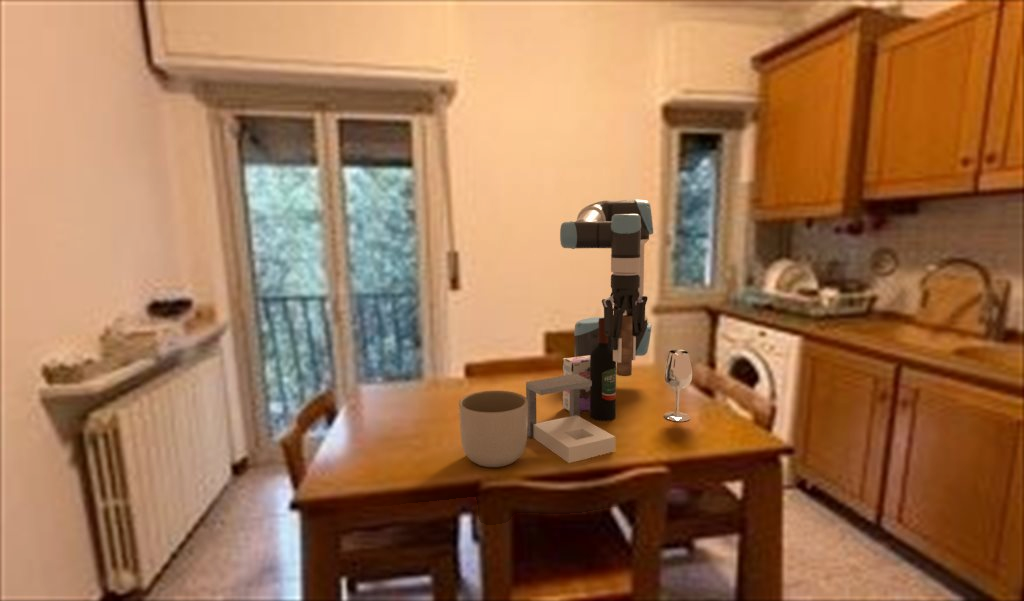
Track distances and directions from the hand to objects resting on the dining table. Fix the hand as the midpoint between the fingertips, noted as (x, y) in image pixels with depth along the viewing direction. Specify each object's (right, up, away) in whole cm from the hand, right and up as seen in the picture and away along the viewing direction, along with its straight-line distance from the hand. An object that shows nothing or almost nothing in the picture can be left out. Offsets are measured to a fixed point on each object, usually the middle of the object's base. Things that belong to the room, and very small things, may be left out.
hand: (624, 360), depth 151 cm
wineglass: (+19, -19, +17) cm, 32 cm away
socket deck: (-14, -22, -2) cm, 26 cm away
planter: (-34, -24, -10) cm, 43 cm away
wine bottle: (-3, -19, +18) cm, 27 cm away
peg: (0, -4, +1) cm, 4 cm away
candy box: (-7, -18, +26) cm, 33 cm away
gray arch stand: (-17, -21, +5) cm, 28 cm away
